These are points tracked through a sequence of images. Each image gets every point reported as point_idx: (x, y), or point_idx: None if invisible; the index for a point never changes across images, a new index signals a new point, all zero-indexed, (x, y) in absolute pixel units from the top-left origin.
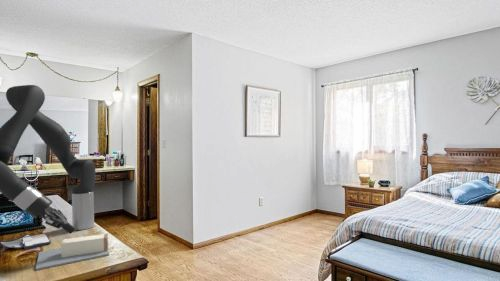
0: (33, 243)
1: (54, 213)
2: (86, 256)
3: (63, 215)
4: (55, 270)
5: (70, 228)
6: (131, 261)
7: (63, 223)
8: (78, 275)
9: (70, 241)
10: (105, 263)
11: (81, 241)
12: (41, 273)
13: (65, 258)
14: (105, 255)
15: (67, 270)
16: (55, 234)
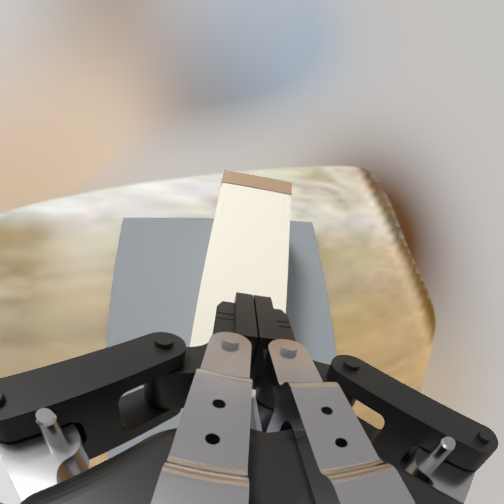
0: (2, 479)
1: (385, 483)
2: (306, 296)
3: (99, 364)
4: None
5: (289, 322)
6: (379, 189)
7: (360, 361)
8: (433, 318)
9: None
10: (376, 245)
11: (285, 290)
12: None
13: None
14: (313, 235)
15: (393, 357)
16: None
